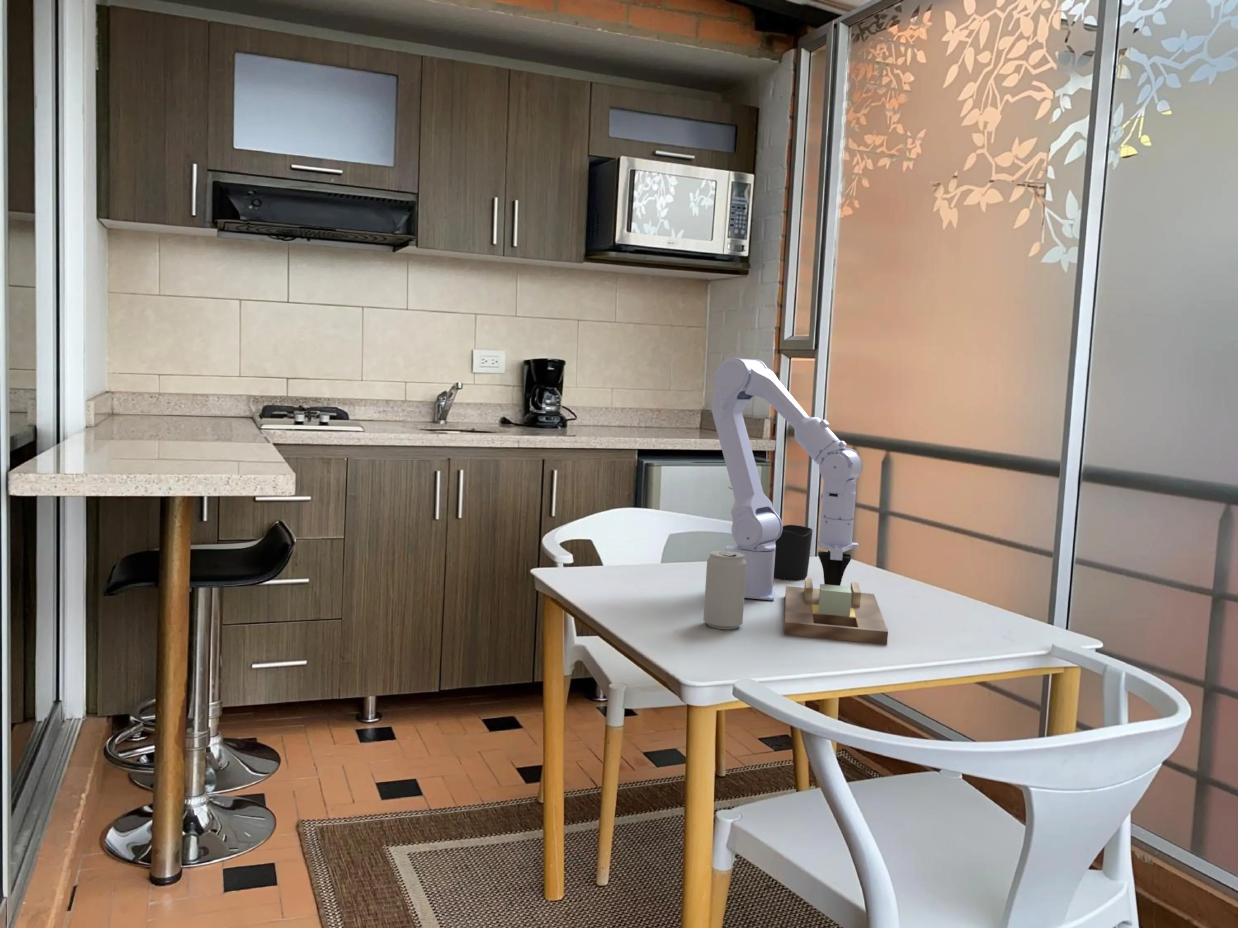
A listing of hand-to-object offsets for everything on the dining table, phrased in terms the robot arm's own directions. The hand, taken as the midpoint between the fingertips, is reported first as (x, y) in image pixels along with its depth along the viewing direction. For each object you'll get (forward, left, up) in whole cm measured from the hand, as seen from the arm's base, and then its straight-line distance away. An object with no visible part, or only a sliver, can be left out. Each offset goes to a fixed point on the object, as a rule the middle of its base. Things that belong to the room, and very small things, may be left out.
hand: (831, 592), depth 185 cm
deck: (0, -7, -3) cm, 7 cm away
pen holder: (-8, +27, -3) cm, 28 cm away
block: (0, -10, -1) cm, 10 cm away
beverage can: (-18, -19, -3) cm, 26 cm away
